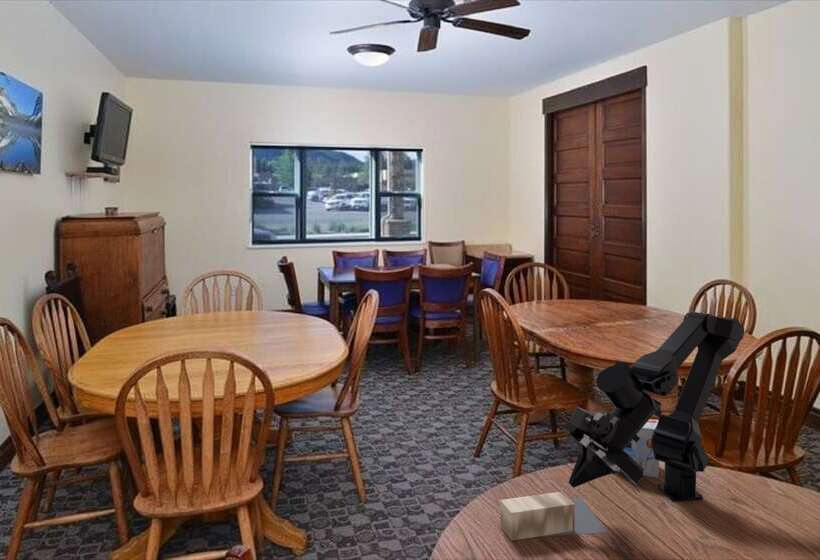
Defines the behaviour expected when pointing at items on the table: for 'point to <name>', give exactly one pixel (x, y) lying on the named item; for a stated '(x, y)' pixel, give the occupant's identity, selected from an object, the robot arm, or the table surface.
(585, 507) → the slate mat
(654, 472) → the light bulb box
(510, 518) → the beech block
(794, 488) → the table surface
